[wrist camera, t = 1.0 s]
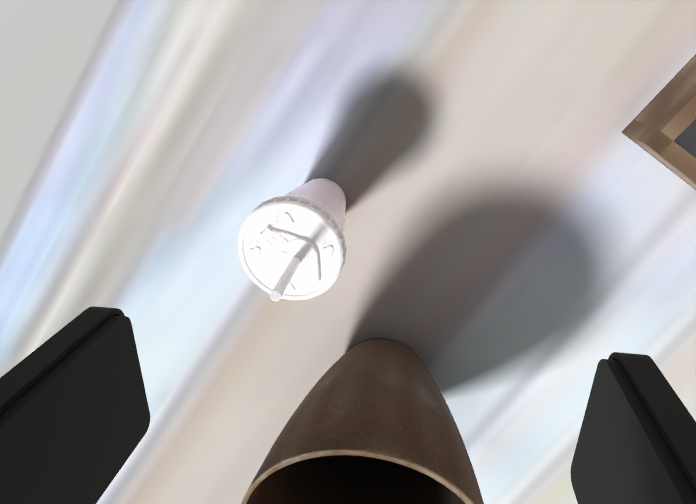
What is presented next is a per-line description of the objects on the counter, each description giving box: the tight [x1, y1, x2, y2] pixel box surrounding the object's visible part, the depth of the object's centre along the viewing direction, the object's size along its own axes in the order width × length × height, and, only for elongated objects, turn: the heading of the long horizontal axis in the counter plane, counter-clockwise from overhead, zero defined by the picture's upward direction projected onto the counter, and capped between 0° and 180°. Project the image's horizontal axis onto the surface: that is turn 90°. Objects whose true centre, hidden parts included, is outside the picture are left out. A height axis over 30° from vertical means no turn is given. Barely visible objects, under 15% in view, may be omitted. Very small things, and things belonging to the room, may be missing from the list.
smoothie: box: [238, 178, 346, 301], centre depth 31 cm, size 6×6×14 cm
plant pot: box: [241, 339, 484, 504], centre depth 35 cm, size 15×15×16 cm
